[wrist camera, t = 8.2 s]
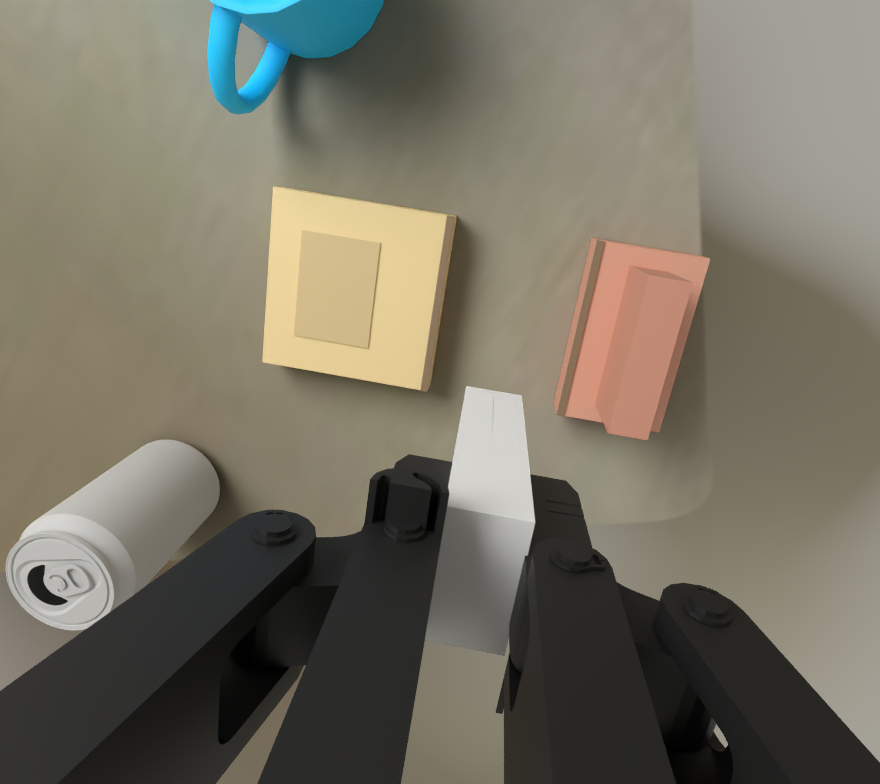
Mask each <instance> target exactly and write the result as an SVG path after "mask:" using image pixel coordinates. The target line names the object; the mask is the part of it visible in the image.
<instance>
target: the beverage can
mask: <svg viewBox="0 0 880 784" xmlns="http://www.w3.org/2000/svg"><path fill="white" fill-rule="evenodd" d="M219 495H220V484H219V480H218V476H217V473H216V471H215V469H214V467H213V466H212V464H211V463H210V461H209V460H208V459H207V458H206V457H205V456H204V455H203V454H202V453H201V452H199V451H198V450H197V449H195V448H194V447H192V446H190V445H188V444H186V443H183V442H180V441H175V440H157V441H153V442H150V443H148V444H146V445H144V446H142V447H141V448H140V449H138V450H137V451H135V452H134V453H132V454H131V455H129V456H128V457H127V458H125V459H124V460H122V461H121V462H119V463H118V464H116V465H115V466H114V467H112V468H111V469H109V470H108V471H106V472H105V473H103V474H102V475H100V476H99V477H98V478H96V479H95V480H93V481H92V482H90V483H89V484H87V485H86V486H85V487H83V488H82V489H80V490H79V491H77V492H76V493H74V494H73V495H72V496H70V497H69V498H67V499H66V500H64V501H63V502H61V503H60V504H58V505H57V506H56V507H54V508H53V509H51V510H50V511H48V512H47V513H45V514H44V515H43V516H41V517H40V518H38V519H37V520H35V521H34V522H33V523H31V524H30V525H29V526H28V527H27V528H26V529H25V531H24V532H23V534H22V536H21V538H20V540H19V542H18V543H16V544H15V545H14V547H13V548H12V549H11V551H10V553H9V555H8V557H7V561H6V575H7V576H6V577H7V581H8V584H9V587H10V590H11V592H12V593H13V595H14V597H15V598H16V599H17V601H18V602H19V603H20V605H21V606H22V607H23V608H24V609H25V610H26V611H27V612H28V613H30V614H31V615H32V616H34V617H35V618H37V619H38V620H40V621H42V622H43V623H46V624H48V625H50V626H53V627H56V628H60V629H65V630H83V629H87V628H88V627H90V626H91V625H93V624H94V623H95V622H97V621H98V620H100V619H101V618H102V617H104V616H105V615H107V614H108V613H109V612H111V611H112V610H114V609H115V608H116V607H118V606H119V605H120V604H122V603H123V602H125V601H126V600H127V599H129V598H130V597H132V596H133V595H134V594H136V593H137V592H139V591H140V590H141V589H143V588H144V586H145V585H146V584H147V583H148V582H149V581H150V580H151V579H152V578H153V577H154V575H155V574H156V573H157V572H158V571H159V570H160V569H161V568H162V567H163V566H164V565H165V564H166V562H167V561H168V560H169V559H170V558H171V557H172V556H173V555H174V554H175V553H176V552H177V550H178V549H179V548H180V547H181V546H182V545H183V544H184V543H185V542H186V541H187V540H188V538H189V537H190V536H191V535H192V534H193V533H194V532H195V531H196V530H197V529H198V528H199V526H200V525H201V524H202V523H203V522H204V521H205V520H206V519H207V518H208V517H209V516H210V514H211V513H212V512H213V511H214V509H215V507H216V505H217V503H218V500H219Z"/></svg>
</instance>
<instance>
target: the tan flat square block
mask: <svg viewBox="0 0 880 784" xmlns="http://www.w3.org/2000/svg"><path fill="white" fill-rule="evenodd" d="M456 219H457V216H456V215H450V214H444V213H437V212H431V211H425V210H419V209H413V208H407V207H401V206H395V205H389V204H383V203H377V202H371V201H365V200H358V199H352V198H346V197H340V196H334V195H328V194H322V193H316V192H310V191H304V190H298V189H292V188H285V187H273V200H272V216H271V232H270V248H269V264H268V281H267V297H266V313H265V329H264V346H263V362H265V363H270V364H276V365H282V366H287V367H293V368H299V369H304V370H310V371H315V372H321V373H327V374H332V375H338V376H344V377H349V378H355V379H360V380H366V381H372V382H377V383H383V384H388V385H394V386H400V387H405V388H411V389H417V390H420V391H424V392H427V391H428V388H429V386H430V383H431V379H432V373H433V366H434V360H435V353H436V347H437V341H438V334H439V328H440V322H441V315H442V309H443V302H444V296H445V290H446V283H447V277H448V270H449V264H450V258H451V251H452V245H453V239H454V232H455V226H456Z"/></svg>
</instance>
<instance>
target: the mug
mask: <svg viewBox="0 0 880 784" xmlns="http://www.w3.org/2000/svg"><path fill="white" fill-rule="evenodd" d="M210 1H211V2H213V3H214V7H213V12H212V16H211V21H210V32H209V42H208V67H209V79H210V83H211V86H212V89H213V92H214V95H215V98H216V99H217V101H218V102H219V103H220V104H221V105H223V106H224V107H225V108H226V109H227V110H228V111H230V112H231V113H234V114H244V113H250V112H252V111H253V110H255V109H256V108H257V107H258V106H259V105H261V104H262V103H263V102H264V101H265V100H266V98H267V97H268V95H269V94H270V93H271V91H272V90H273V88H274V87H275V85H276V83H277V81H278V79H279V77H280V75H281V73H282V71H283V69H284V68H285V66H286V63H287V61H288V58H289V55H290V54H293V55H297V56H300V57H303V58H307V59H309V58H324V57H332V56H334V55H336V54H338V53H340V52H343V51H345V50H347V49H349V48H351V47H353V46H354V45H355V44H356V43H357V42H358V41H359V40H360V39H361V38H362V37H363V36H364V35H365V34H366V33H367V32H368V31H369V30H370V29H371V27H372V25H373V23H374V21H375V19H376V18H377V16H378V14H379V12H380V10H381V8H382V6H383V2H384V0H210ZM241 22H242V23H243V24H245V25H246V26H248V27H249V28H250V29H252V30H253V31H255V32H256V33H258V34H259V35H261V36H262V37H264V38H265V39H266V40H268V41H269V42H268V45H267V47H266V50H265V53H264V55H263V57H262V59H261V61H260V62H259V64H258V66H257V68H256V70H255V72H254V74H253V75H252V76H251V78H250V79H249V80H248V82H247V83H246V85H245V86H244V87H242V88H241V89H240V90H239V91H237V87H236V83H235V55H236V47H237V39H238V31H239V27H240V23H241Z"/></svg>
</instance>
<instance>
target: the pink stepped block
mask: <svg viewBox="0 0 880 784" xmlns="http://www.w3.org/2000/svg"><path fill="white" fill-rule="evenodd" d="M709 262H710V259H709V258H705V257H702V256H699V255H693V254H687V253H681V252H675V251H668V250H662V249H656V248H650V247H644V246H638V245H632V244H626V243H620V242H614V241H608V240H602V239H596V238H591V242H590V247H589V251H588V255H587V260H586V264H585V269H584V273H583V277H582V282H581V286H580V291H579V295H578V299H577V304H576V308H575V312H574V317H573V321H572V326H571V330H570V334H569V339H568V343H567V347H566V352H565V356H564V361H563V365H562V369H561V374H560V378H559V382H558V387H557V391H556V396H555V400H554V406H555V410H556V414H557V415H559V416H568V417H574V418H580V419H585V420H591V421H597V422H602V423H603V424H604V426H605V428H606V430H607V432H608V433H609V434H614V435H620V436H626V437H631V438H637V439H642V440H648V437H649V434H650V431H653V432H658V433H659V432H660V429H661V426H662V422H663V419H664V415H665V412H666V409H667V405H668V402H669V398H670V395H671V392H672V388H673V385H674V381H675V378H676V374H677V371H678V368H679V364H680V361H681V357H682V354H683V351H684V347H685V344H686V340H687V337H688V334H689V330H690V327H691V323H692V320H693V317H694V313H695V310H696V306H697V303H698V299H699V296H700V293H701V289H702V286H703V282H704V279H705V276H706V272H707V269H708V265H709Z"/></svg>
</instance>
